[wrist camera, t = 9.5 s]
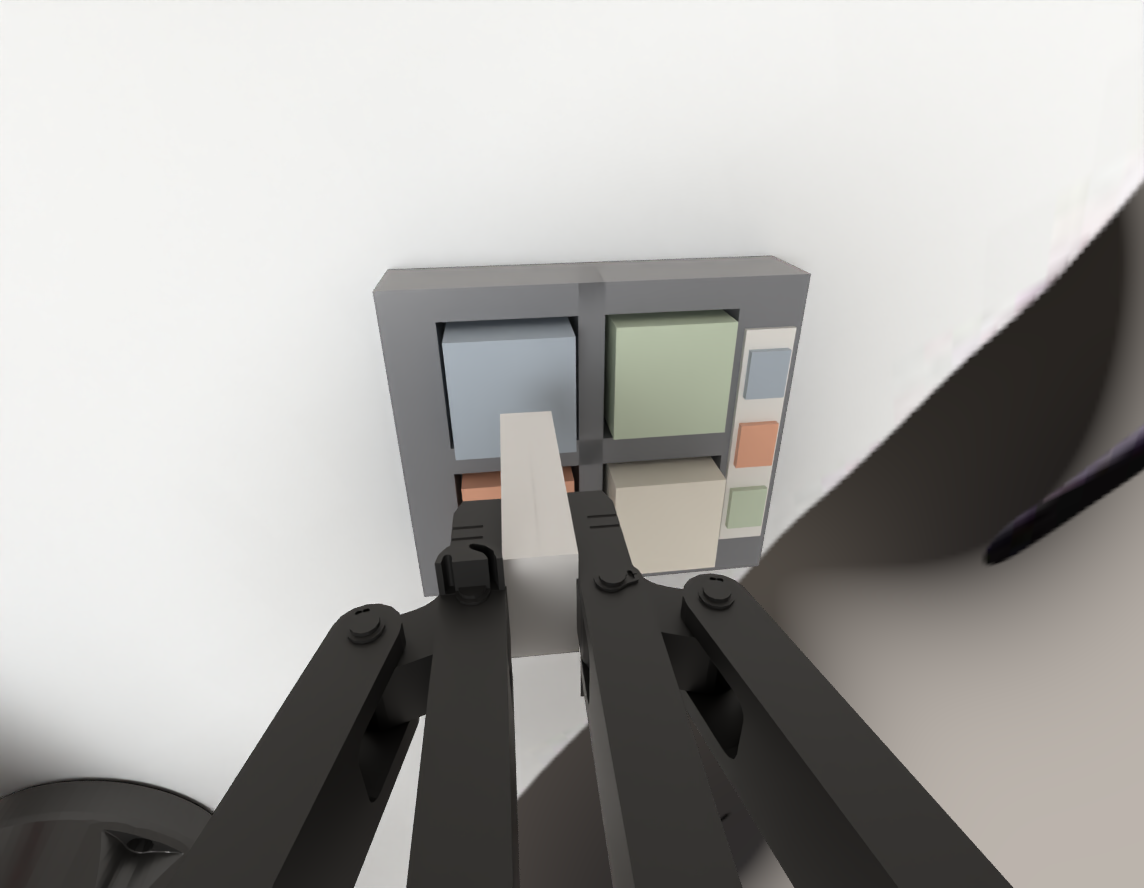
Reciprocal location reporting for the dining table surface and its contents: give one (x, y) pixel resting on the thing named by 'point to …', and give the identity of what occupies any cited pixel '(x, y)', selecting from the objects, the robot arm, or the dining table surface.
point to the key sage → (668, 372)
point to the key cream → (668, 511)
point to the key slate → (508, 379)
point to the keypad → (595, 376)
